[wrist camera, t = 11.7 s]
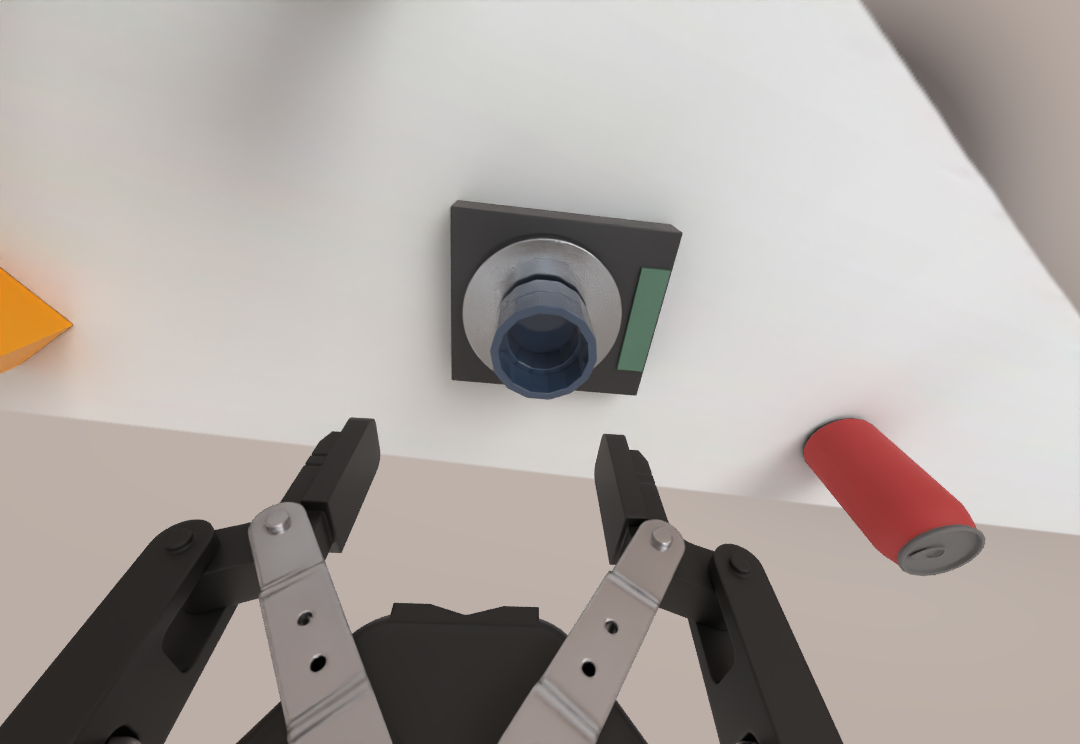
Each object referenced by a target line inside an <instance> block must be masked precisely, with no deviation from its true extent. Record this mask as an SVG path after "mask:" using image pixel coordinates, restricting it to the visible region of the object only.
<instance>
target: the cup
mask: <svg viewBox="0 0 1080 744" xmlns="http://www.w3.org/2000/svg"><path fill="white" fill-rule="evenodd" d="M490 355H491V360H492V365H493V370H494V372H495V373H496V375H497V376H498V377H499V378H500V379H501V381H502V382H503V383H504V384H505V386H506V387H507V388H509V389H511V390H513V391H515V392H517V393H519V394H521V395H523V396H525V397H527V398H537V399H553V398H556V397H560V396H563V395H567V394H570V393H572V392H573V391H574V390H576V389H577V388H578V387H579V386H580V385H582V384H583V383H584V382H585V381H587V380H588V378H589V376H590V374H591V372H592V370H593V368H594V366H595V364H596V362H597V345H596V337H595V334H594V330H593V327H592V323H591V320H590V316H589V313H588V310H587V308H586V306H585V305H584V303H583V301H582V300H581V298H580V296H579V295H578V293H577V292H575V291H574V290H572V289H570V288H569V287H567V286H565V285H564V284H562V283H560V282H558V281H548V280H534V281H531V282H528V283H525V284H522V285H519V286H517V287H516V288H515V289H514V290H513V291H512V292H511V293H510V294H509V295H508V296H507V297H506V298H505V299H504V300H503V301H502V302H501V305H500V308H499V311H498V314H497V317H496V321H495V326H494V331H493V336H492V341H491V346H490Z"/></svg>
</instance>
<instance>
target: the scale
mask: <svg viewBox="0 0 1080 744" xmlns="http://www.w3.org/2000/svg"><path fill="white" fill-rule="evenodd" d="M533 236H553V237H559V238H564V239H567V240H570V241H573V242H575V243H577V244H579V245H581V246H583V247H585V248H586V249H588V250H589V251H591V252H592V253H594V254H595V255H596V256H597V257H598V258H599V259H600V260H601V261H602V262H603V263H604V264H605V266H606V267H607V268H608V270H609V271H610V273H611V275H612V276H613V278H614V280H615V283H616V285H617V287H618V290H619V294H620V297H621V304H622V319H621V326H620V330H619V333H618V336H617V338H616V340H615V343H614V345H613V346H612V348H611V350H610V351H609V353H608V354H607V355H606V356H605V358H604V359H603V360H602V361H601V362H600V363H599V364H598V365H597V366H596V367H595V368H593V370H592V372H591V374H590V376H589V378H588V380H587V381H585V382H584V383H583V384H582V385H580V386H579V387H578V388H577V389H576V391H588V392H600V393H612V394H624V395H637V391H638V388H639V384H640V381H641V377H642V374H643V370H644V367H645V363H646V359H647V356H648V352H649V349H650V345H651V342H652V338H653V335H654V331H655V328H656V324H657V321H658V317H659V314H660V310H661V307H662V303H663V300H664V296H665V293H666V289H667V286H668V282H669V279H670V275H671V272H672V268H673V265H674V261H675V258H676V254H677V251H678V247H679V244H680V240H681V237H682V232H681V231H679V230H678V229H676V228H675V227H674V226H672V225H670V224H661V223H652V222H643V221H635V220H626V219H617V218H608V217H600V216H591V215H582V214H573V213H565V212H556V211H547V210H538V209H530V208H521V207H512V206H503V205H495V204H486V203H477V202H468V201H460V200H457V201H456V202H455V203H454V204H453V205H452V206H451V356H452V380H458V381H470V382H482V383H493V384H504V383H503V382H502V381H501V379H500V378H499V377H498V376H497V375H496V373H495V372H494V371H493V370H491V369H490V368H489V367H488V366H487V365H486V364H484V363H483V361H482V360H481V359H480V358H479V357H478V356H477V354H476V353H475V351H474V350H473V349H472V347H471V345H470V343H469V341H468V338H467V335H466V333H465V329H464V324H463V313H462V311H463V301H464V297H465V292H466V290H467V287H468V285H469V282H470V280H471V278H472V276H473V274H474V273H475V271H476V270H477V268H478V267H479V266H480V264H481V263H482V262H483V261H484V260H485V259H486V258H487V257H488V256H489V255H490V254H492V253H493V252H494V251H496V250H497V249H498V248H500V247H502V246H504V245H506V244H508V243H510V242H513V241H515V240H518V239H522V238H526V237H533Z"/></svg>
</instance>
